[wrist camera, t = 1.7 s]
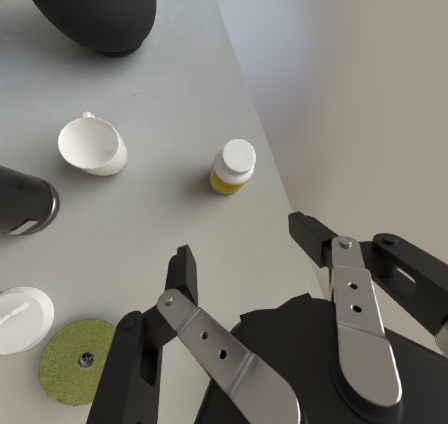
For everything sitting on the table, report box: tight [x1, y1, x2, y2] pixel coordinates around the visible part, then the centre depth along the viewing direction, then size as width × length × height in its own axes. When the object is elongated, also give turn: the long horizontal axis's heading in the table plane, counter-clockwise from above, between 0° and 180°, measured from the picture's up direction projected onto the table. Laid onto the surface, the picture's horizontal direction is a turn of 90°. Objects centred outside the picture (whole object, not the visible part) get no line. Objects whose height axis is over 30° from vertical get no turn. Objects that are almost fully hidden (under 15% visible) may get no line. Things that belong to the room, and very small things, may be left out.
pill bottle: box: [210, 139, 256, 195], centre depth 28 cm, size 6×6×11 cm
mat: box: [39, 319, 116, 406], centre depth 25 cm, size 11×11×2 cm
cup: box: [58, 112, 128, 176], centre depth 27 cm, size 8×10×7 cm
